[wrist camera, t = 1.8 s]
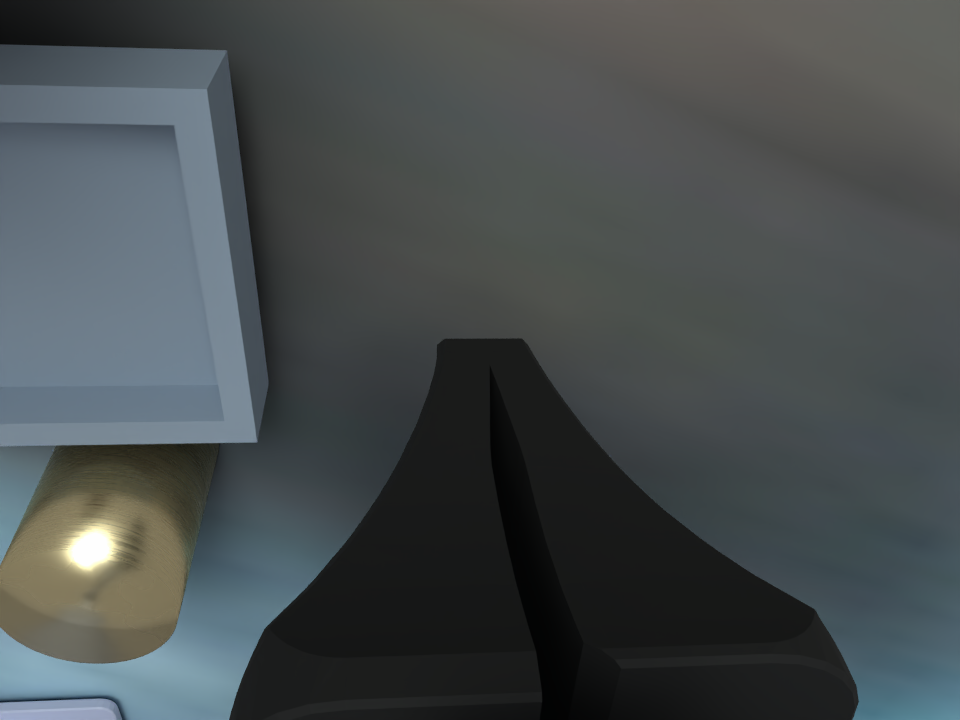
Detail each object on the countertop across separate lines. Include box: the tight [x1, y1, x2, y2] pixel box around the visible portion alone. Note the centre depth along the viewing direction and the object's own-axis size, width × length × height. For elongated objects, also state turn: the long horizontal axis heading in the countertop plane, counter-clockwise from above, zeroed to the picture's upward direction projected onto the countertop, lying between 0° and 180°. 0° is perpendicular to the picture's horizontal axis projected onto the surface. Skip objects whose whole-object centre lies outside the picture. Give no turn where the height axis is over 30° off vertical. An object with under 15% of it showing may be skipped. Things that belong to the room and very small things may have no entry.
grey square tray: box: [0, 44, 269, 446], centre depth 17 cm, size 8×8×4 cm
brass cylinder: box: [0, 443, 219, 663], centre depth 20 cm, size 4×4×6 cm
